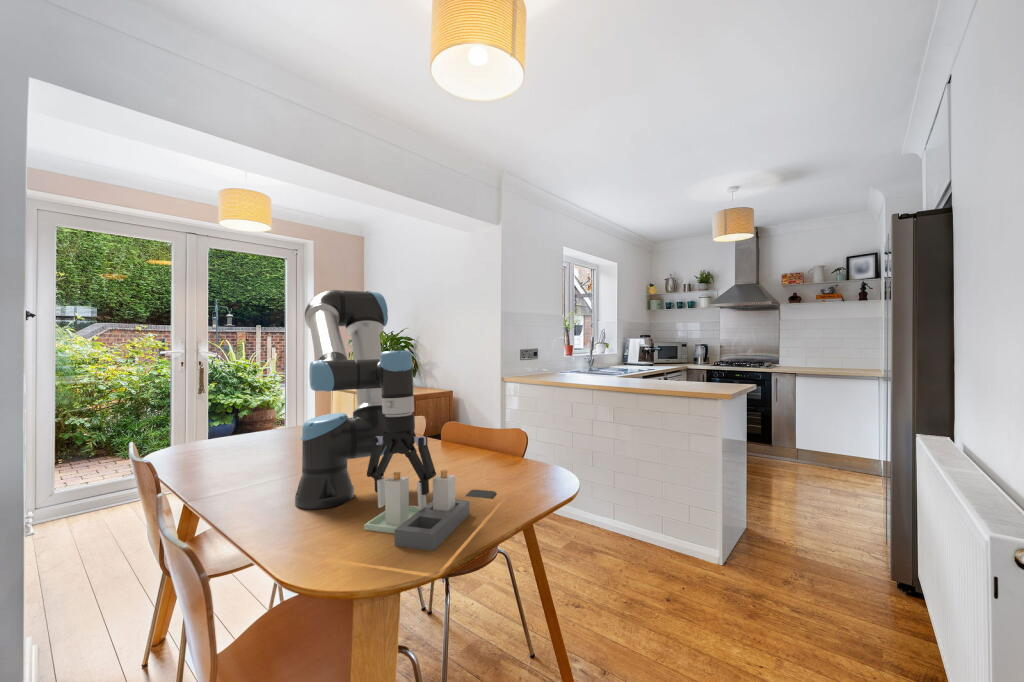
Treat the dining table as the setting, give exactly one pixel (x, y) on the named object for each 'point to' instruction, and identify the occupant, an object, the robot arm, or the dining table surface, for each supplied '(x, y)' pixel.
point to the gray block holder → (434, 517)
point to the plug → (396, 499)
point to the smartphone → (481, 494)
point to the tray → (381, 526)
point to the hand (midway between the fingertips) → (402, 506)
